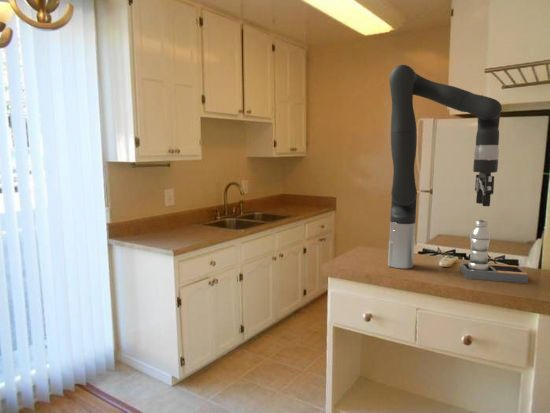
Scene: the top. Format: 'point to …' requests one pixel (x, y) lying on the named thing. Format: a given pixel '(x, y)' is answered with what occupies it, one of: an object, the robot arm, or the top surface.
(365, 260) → the top surface
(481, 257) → the plastic bottle
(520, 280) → the grey tray
